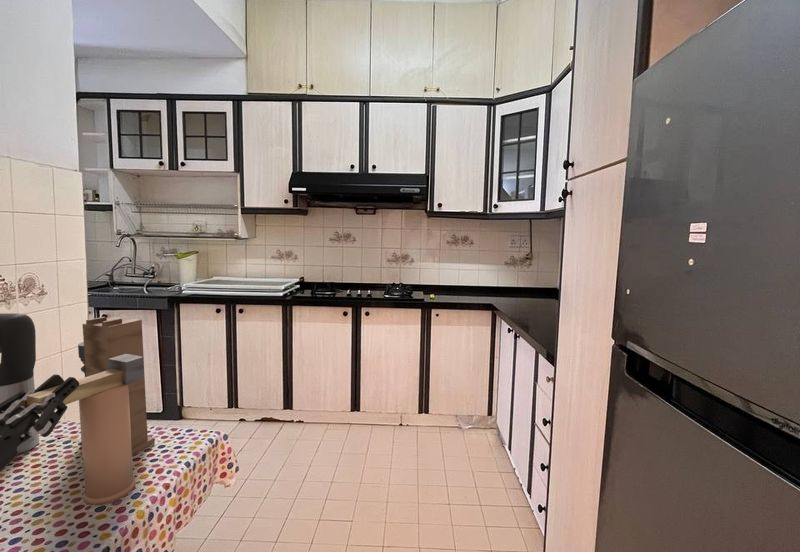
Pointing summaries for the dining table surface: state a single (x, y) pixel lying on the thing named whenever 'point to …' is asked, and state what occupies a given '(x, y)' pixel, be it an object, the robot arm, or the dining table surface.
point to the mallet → (100, 379)
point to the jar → (106, 446)
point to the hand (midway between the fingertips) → (67, 379)
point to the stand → (110, 342)
